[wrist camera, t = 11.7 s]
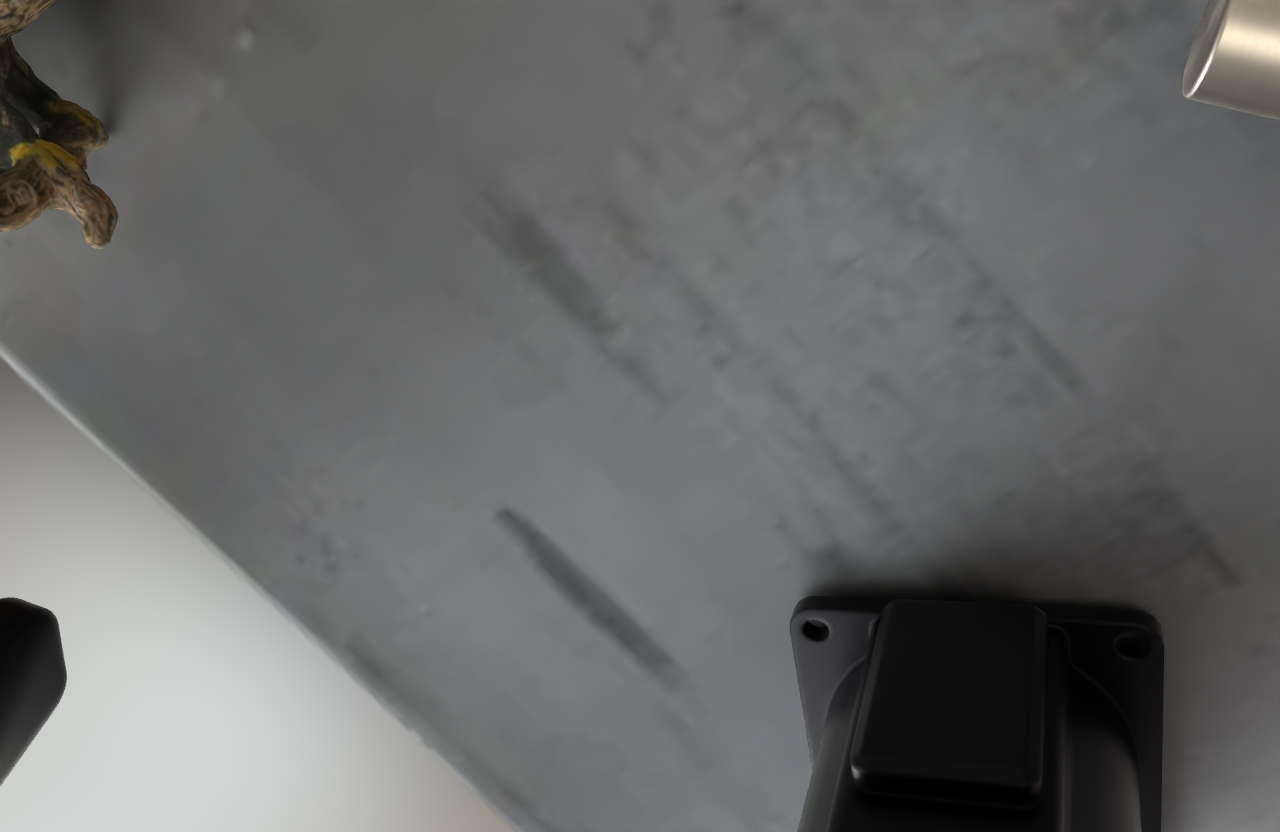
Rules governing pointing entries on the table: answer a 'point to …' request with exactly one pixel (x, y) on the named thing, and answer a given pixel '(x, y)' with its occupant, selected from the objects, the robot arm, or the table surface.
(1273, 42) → the lever
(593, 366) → the table surface
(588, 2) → the table surface
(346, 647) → the table surface
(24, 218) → the eagle figurine
